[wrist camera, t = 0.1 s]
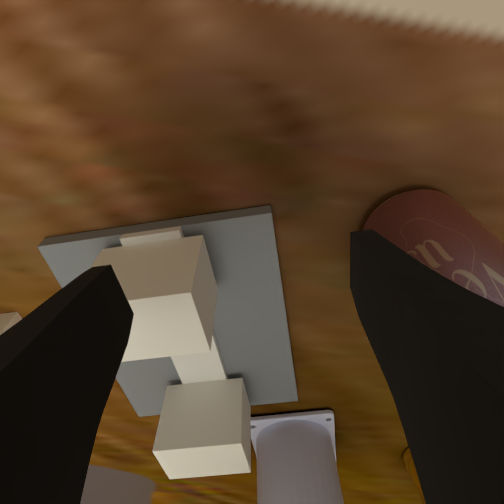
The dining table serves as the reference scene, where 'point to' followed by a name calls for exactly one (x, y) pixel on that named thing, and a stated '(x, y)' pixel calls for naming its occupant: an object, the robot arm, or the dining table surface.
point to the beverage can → (443, 239)
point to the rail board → (233, 310)
